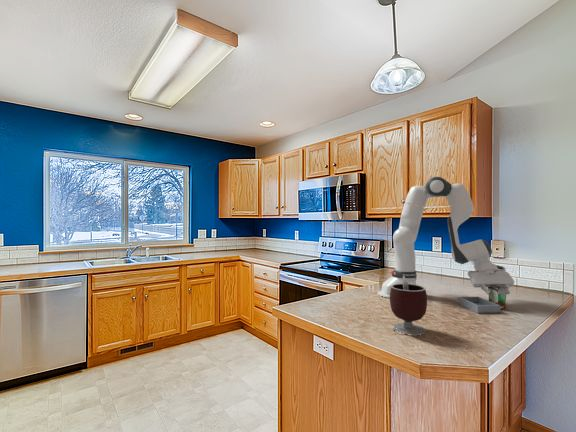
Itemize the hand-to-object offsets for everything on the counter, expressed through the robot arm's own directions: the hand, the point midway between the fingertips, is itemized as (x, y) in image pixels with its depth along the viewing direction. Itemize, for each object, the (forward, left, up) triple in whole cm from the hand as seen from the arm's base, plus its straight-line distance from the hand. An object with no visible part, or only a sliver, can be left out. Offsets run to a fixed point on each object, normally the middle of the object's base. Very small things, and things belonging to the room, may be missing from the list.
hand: (498, 293), depth 154 cm
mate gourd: (-57, -30, -7) cm, 65 cm away
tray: (-12, -2, -7) cm, 13 cm away
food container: (0, -1, -7) cm, 7 cm away
